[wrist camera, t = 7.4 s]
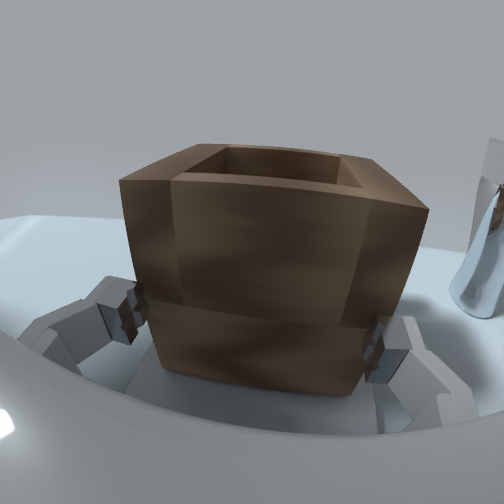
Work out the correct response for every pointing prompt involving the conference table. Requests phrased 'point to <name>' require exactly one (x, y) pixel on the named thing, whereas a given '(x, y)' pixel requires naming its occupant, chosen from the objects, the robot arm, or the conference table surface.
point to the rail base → (254, 402)
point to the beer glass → (484, 242)
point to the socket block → (269, 261)
